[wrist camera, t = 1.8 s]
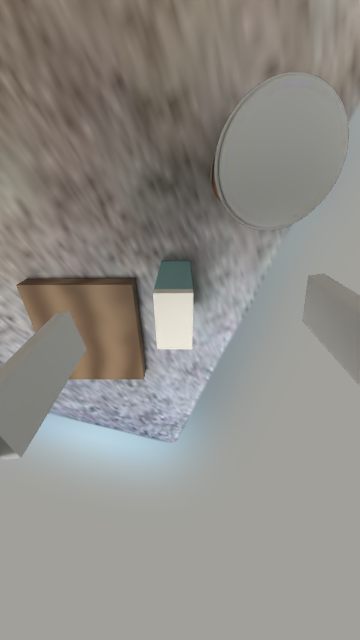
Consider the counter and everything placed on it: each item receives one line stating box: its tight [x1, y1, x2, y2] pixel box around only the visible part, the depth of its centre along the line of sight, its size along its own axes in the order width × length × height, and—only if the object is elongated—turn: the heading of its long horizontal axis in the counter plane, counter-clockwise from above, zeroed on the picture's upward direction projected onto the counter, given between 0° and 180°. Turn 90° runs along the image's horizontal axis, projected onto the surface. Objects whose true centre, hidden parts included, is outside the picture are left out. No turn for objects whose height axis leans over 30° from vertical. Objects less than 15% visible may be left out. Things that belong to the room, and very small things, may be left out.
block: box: [153, 261, 193, 349], centre depth 29 cm, size 4×7×11 cm, turn 1°
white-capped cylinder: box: [210, 72, 349, 230], centre depth 21 cm, size 9×9×12 cm
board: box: [16, 278, 146, 379], centre depth 37 cm, size 16×18×2 cm
